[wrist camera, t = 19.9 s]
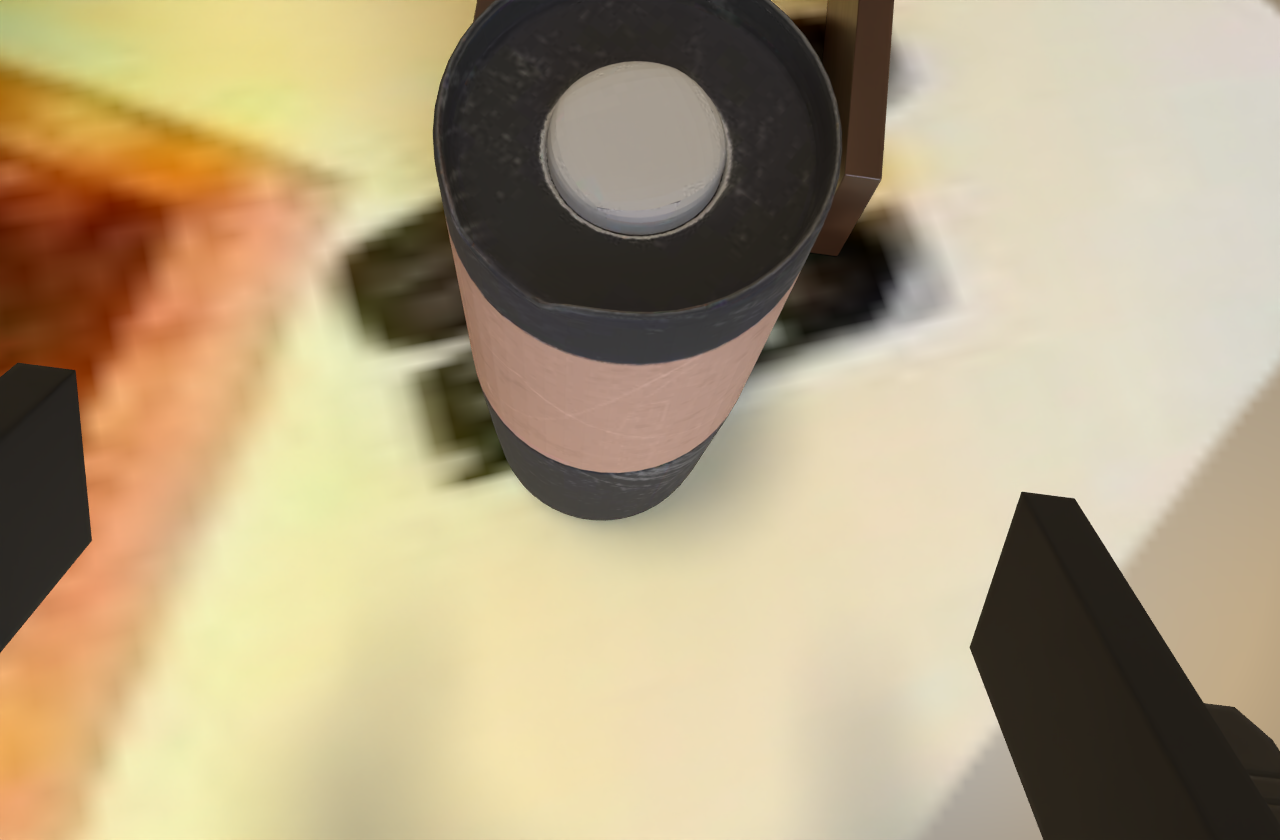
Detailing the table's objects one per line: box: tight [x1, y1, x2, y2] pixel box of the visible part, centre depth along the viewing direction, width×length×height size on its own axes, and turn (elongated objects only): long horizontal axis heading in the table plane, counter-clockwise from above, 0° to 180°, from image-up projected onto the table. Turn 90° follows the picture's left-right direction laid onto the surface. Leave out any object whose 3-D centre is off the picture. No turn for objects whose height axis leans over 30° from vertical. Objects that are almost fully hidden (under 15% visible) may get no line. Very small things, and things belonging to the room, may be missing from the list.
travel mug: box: [433, 0, 842, 520], centre depth 30 cm, size 8×8×20 cm
